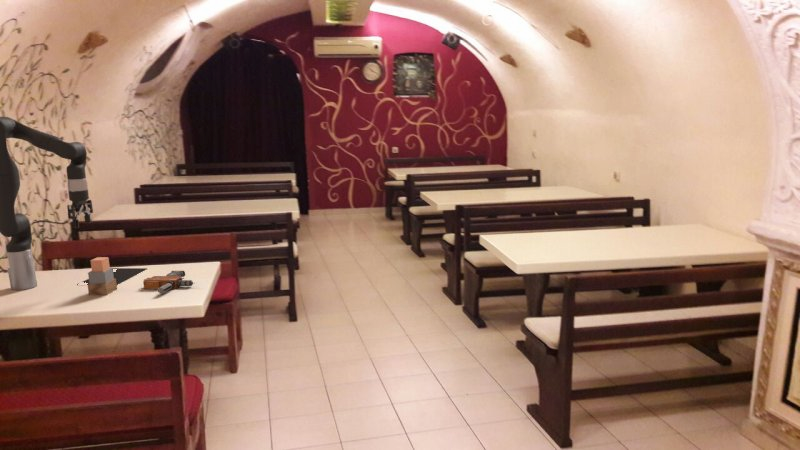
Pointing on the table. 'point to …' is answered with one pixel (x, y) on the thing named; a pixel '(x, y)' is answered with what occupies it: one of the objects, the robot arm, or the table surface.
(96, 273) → the gray middle block
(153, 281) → the tool
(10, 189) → the robot arm
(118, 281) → the tablet
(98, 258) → the terracotta block
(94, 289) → the walnut base block
